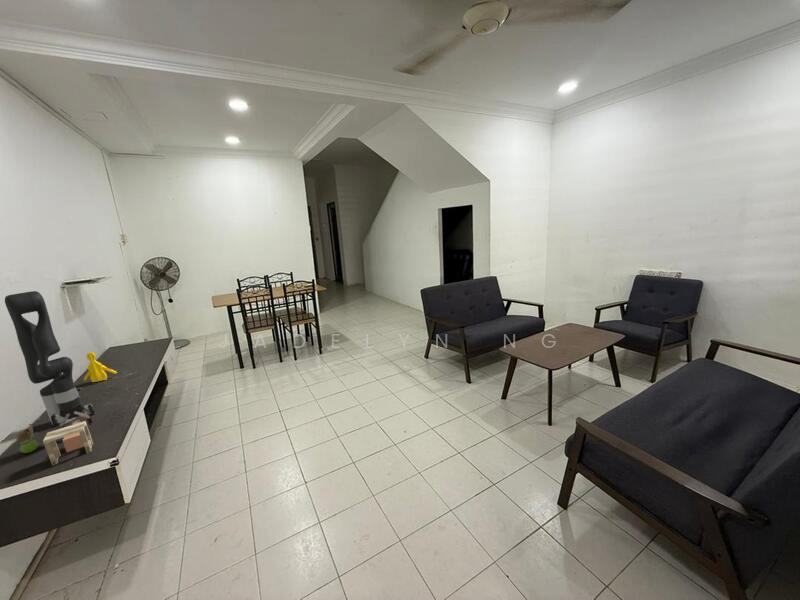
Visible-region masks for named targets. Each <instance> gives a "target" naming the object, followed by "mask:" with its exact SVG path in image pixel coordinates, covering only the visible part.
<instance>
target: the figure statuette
mask: <svg viewBox="0 0 800 600" xmlns="http://www.w3.org/2000/svg"><path fill="white" fill-rule="evenodd" d="M96 357H97V355H96V353H95V352H94V351H88V352H87V353H86V358H87V360H88V361H89V362H90V363H89V365H88V366H87V369H88V372H87V373H86V374H85V375H84V378H83V381H86V380H87V379H89V377H90V381H91V382H92V383H93V382H97V381H102V380H106V381H107V380H108V379H107V378H108V375H107V372H109V373H111V374H114V375H116V374H117V373H118V371H116V370H114V369H112V368H108V367H107V366H105V365H103V364H102V363H101V362H99V361H98V360H96Z"/></svg>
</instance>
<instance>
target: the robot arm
mask: <svg viewBox="0 0 800 600" xmlns="http://www.w3.org/2000/svg"><path fill="white" fill-rule="evenodd" d="M42 295H43V294H41V293H40V292H39V291H35V290H33V291H25V292H19V293H12V294H8V295H6V296H5V297H4V304H5V307H6V308H7V311H8V314H9V316H10V320H11V322H12V324H13V327H14V329H15V333H16V337H17V342H18V346H19V347H20V349H21V352H22V355H23V357H24V362H25V366H26V372H27V376H28V378H29V381H30V382H31V383H32V384H36V385H37V384H41V383H46V382H48V381H51V380H52V381H51V382H50V383H48V384H47V385H46V386H44V387H42V388H41V389H40V390H39V394H40V397H41V400H42V403H43V405H44V408H45V410H46V413H47V416H48V417H49V421H50V423H51V426H53V428H59V429H61V428H64V427H67V426H66V424H67V423H70V422H73V421H75V419H77V418H79V417H83V418H85V419H86V420H87V421H86V422H87V423H88V424H87V425H89V426H91V425H92V424H93V422H94V421H93V418H92V417H93V416H95V415H96V410H95V408H94V405H93V403H92V402H89V403H87V404H86V405H83V403H82V400H81V397H80V394H79V392H78V389H77V388H76V386H75V382H74V380H73V370H74V369H73V367H74V366H73V365H74V362H73V361H72V359H71V358H70V357H68V356H60V357H58V358H55V359H51V360H49V357H51V356H53V355H56V354H58V353H60V351H61V348H60V345H59V343H58V341H57V339H56V337H55V333H54V330H53V328H52V322H51V317H50V315H49V312H48V309H47V305H46V302H45V299H44V296H42ZM34 312H37V315H38V318H37V323H36V324H35V323H33V322H31V321H29V320H27V319H26V318H25V317H24V316H23V315H25V314H29V313H34ZM85 409H86V410H88V411H89V412H88V411H85Z"/></svg>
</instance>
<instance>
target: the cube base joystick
mask: <svg viewBox="0 0 800 600" xmlns="http://www.w3.org/2000/svg"><path fill="white" fill-rule="evenodd" d="M80 422H81V420H80V419H76V420H75V419H74V420H72V421H71V425H74V424H77V423H80ZM62 443H63V446H64V449H65V452H66V453H68V452H69V453H70V452H72V451H74V450H77V449H81V448H83V447H85V446H84V444H83V441H82V438H81V435H80V433H79V432H78V433H75V434H72V435H69V436H66V437H63V439H62Z"/></svg>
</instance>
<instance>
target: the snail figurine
mask: <svg viewBox="0 0 800 600" xmlns="http://www.w3.org/2000/svg"><path fill="white" fill-rule="evenodd" d="M28 426H29V427H28V431H27V430H25V431H22V432H20V433H19V434H18V435H17V441H18V442H19V444H20V446H19V451H20V452H21V453H23V454H29V453H33V452H34V451H36V450H37V448H38V447H39V443H38V441H37V440H35V439H32V438H33V437H34V427H33V423H29V424H28Z"/></svg>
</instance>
